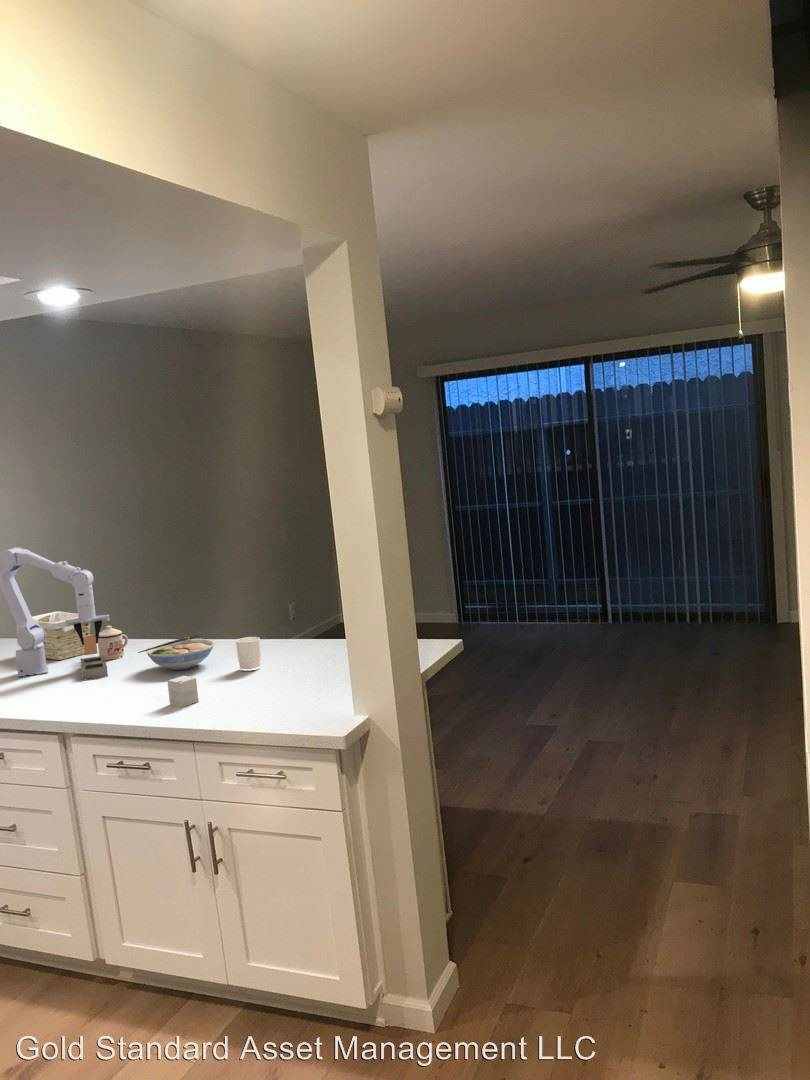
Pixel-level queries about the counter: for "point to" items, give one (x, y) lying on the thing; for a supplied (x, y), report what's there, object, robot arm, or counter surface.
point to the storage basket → (61, 635)
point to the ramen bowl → (180, 652)
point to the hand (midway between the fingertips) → (90, 643)
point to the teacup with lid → (111, 643)
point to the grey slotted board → (93, 667)
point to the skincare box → (182, 691)
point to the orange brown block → (90, 644)
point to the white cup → (248, 652)
